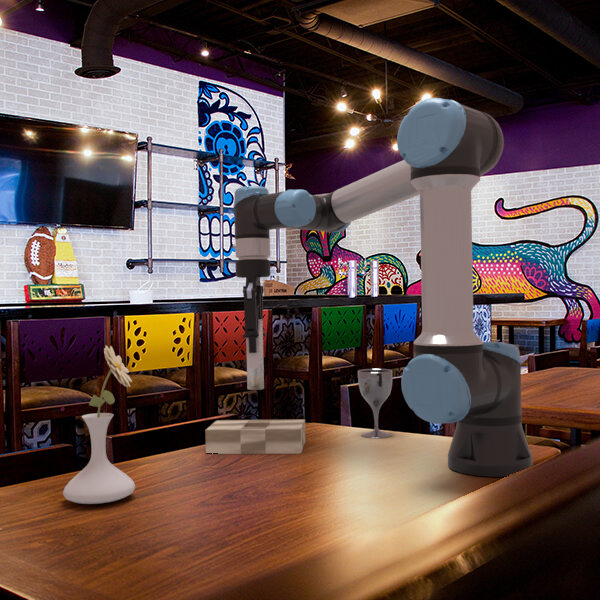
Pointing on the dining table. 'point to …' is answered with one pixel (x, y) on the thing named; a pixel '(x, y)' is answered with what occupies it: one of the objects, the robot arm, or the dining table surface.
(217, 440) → the hole block
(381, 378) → the wine glass
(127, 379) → the flower in vase
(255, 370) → the peg
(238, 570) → the dining table surface
